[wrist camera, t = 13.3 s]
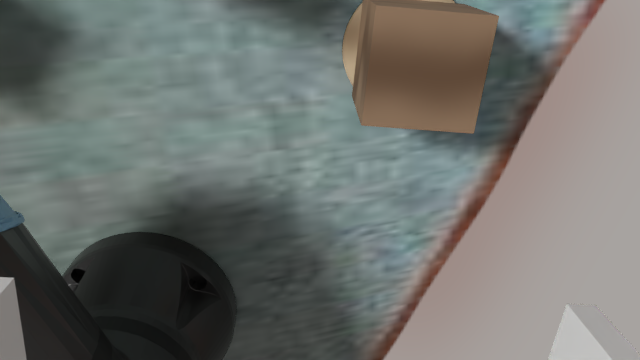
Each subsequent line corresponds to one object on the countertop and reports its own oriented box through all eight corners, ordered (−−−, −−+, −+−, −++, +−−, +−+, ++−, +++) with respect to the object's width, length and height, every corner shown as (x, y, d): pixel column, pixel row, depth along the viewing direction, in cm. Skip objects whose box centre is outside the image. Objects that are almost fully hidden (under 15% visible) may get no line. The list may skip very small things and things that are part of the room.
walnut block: (445, 103, 39) (473, 133, 32) (352, 95, 38) (361, 125, 32) (464, 4, 36) (498, 16, 29) (363, -5, 35) (376, 5, 29)
